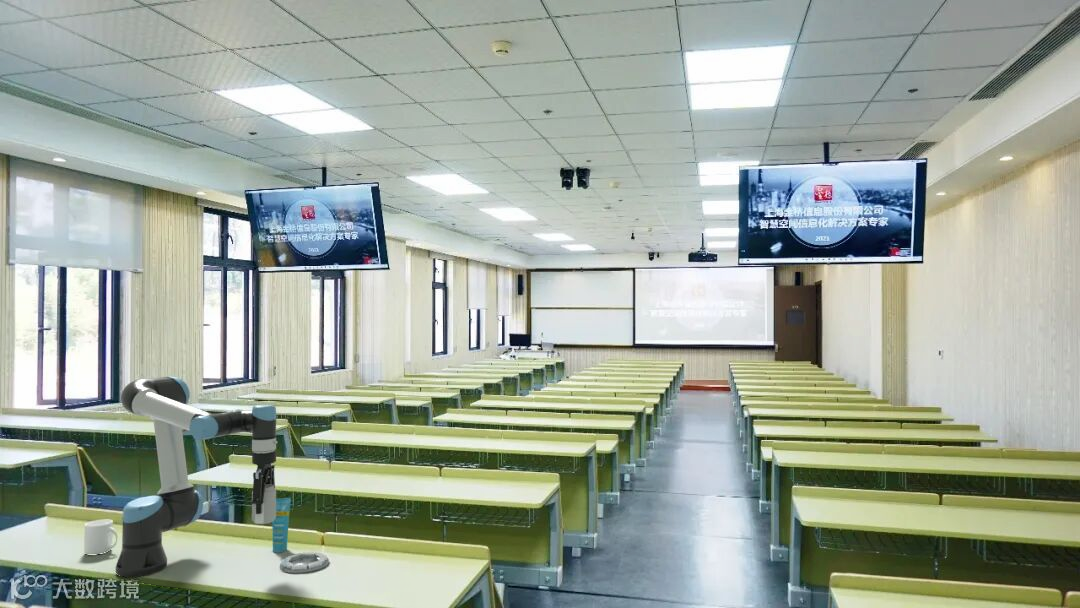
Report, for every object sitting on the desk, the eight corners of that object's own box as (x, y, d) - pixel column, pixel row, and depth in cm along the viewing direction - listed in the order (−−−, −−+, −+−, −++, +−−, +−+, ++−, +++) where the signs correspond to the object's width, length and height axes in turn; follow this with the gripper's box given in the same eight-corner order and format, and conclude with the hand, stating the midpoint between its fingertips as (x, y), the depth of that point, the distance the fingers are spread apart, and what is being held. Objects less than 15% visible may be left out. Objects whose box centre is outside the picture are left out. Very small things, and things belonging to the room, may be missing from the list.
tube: (267, 553, 244) (268, 500, 245) (271, 548, 249) (272, 496, 250) (289, 552, 246) (289, 499, 246) (292, 547, 250) (292, 496, 251)
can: (266, 525, 221) (267, 488, 221) (246, 524, 223) (247, 487, 223) (280, 519, 228) (280, 483, 229) (261, 518, 230) (261, 482, 230)
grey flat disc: (273, 574, 224) (273, 568, 224) (287, 557, 240) (287, 552, 240) (322, 572, 225) (322, 566, 225) (333, 556, 241) (333, 550, 241)
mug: (107, 557, 240) (107, 527, 240) (78, 555, 242) (78, 525, 242) (125, 549, 248) (126, 520, 248) (97, 547, 250) (98, 518, 251)
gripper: (264, 456, 216) (264, 528, 216) (285, 445, 237) (285, 511, 236) (241, 457, 216) (240, 529, 215) (263, 446, 236) (263, 511, 235)
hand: (264, 519), depth 225 cm, fingers closed on can, 7 cm apart
